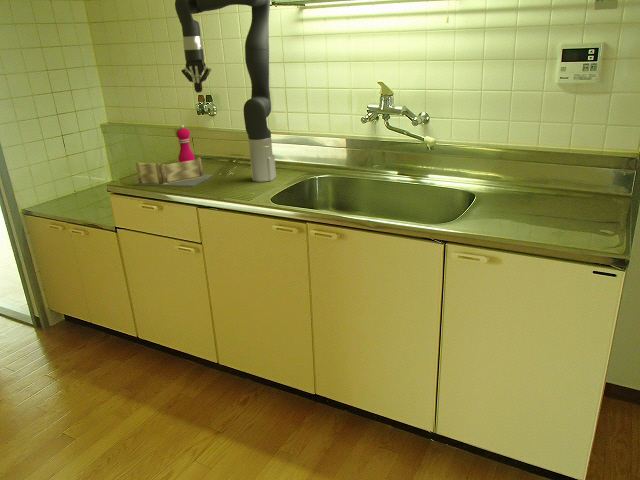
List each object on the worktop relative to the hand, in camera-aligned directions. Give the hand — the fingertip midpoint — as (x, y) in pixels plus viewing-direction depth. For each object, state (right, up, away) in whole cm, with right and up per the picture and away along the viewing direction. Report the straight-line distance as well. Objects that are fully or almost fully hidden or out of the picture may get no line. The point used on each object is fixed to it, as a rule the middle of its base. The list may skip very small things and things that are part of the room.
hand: (198, 92), depth 228 cm
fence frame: (-20, -38, +1) cm, 43 cm away
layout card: (-12, -36, +6) cm, 38 cm away
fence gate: (-7, -36, +3) cm, 37 cm away
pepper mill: (-11, -28, +26) cm, 40 cm away
